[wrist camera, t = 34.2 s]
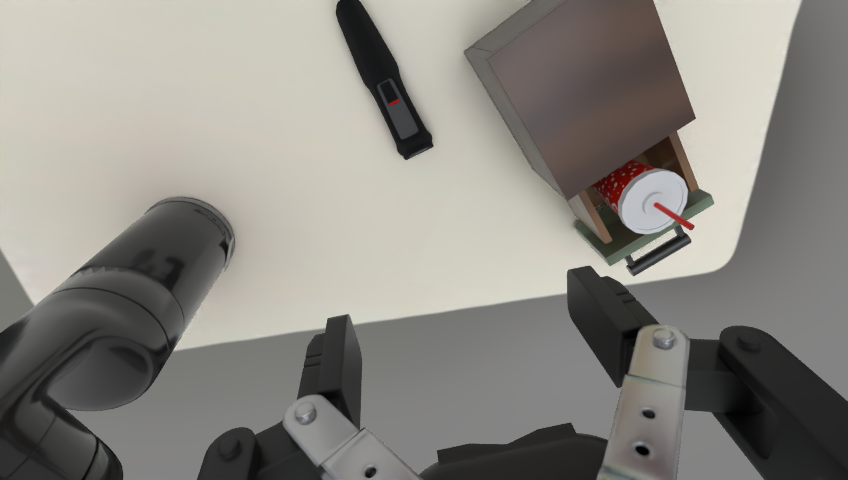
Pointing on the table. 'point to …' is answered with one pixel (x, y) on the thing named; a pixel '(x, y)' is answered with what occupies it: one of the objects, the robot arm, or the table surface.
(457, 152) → the table surface
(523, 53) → the cabinet
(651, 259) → the drawer
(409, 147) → the electric trimmer
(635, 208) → the beverage cup
